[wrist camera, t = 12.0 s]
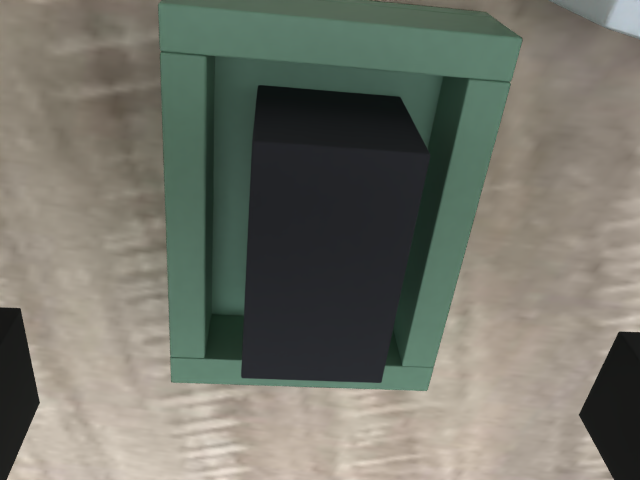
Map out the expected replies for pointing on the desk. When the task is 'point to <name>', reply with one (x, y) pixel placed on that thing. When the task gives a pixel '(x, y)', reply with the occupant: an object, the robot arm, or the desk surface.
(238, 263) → the green open tray
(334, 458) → the desk surface
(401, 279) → the black rectangular block
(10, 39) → the desk surface
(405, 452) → the desk surface
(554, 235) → the desk surface
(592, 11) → the product box
